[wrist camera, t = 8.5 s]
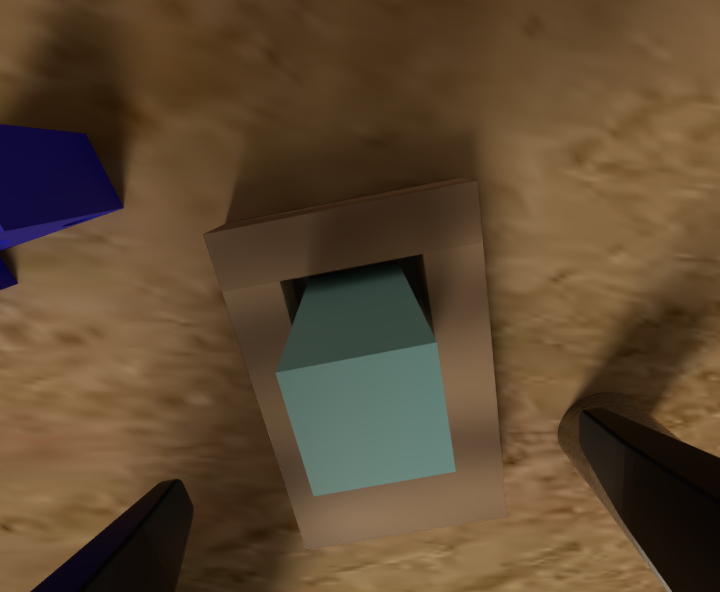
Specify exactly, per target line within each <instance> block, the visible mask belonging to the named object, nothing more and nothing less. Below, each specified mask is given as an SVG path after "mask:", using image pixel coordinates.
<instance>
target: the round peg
mask: <svg viewBox="0 0 720 592" xmlns="http://www.w3.org/2000/svg"><path fill="white" fill-rule="evenodd" d="M591 407H603V408H605V409H608V410H610V411H612V412H615V413H617V414H619V415H622V416H624V417H626V418H628V419H631V420H633V421H635V422H638V423H640V424H642V425H645V426H647V427H649V428H652V429H654V430H656V431H659V432H661V433H663V434H666V435H668V436H670V437H673V438H675V439H677V440H680V439H679V438H677V437H676V436H675V435H674V434H673V433H671V432H670V431H669V430H668V429H667V428H665V427H664V426H663V425H662V424H661V423H659V422H658V421H657V420H656V419H655V418H654V417H652V416H651V415H650V414H649V413H648V412H646V411H645V410H644V409H643V408H642V407H640V406H639V405H638V404H637V403H636V402H634V401H633V400H632V399H631V398H629V397H627V396H625V395H622V394H619V393H599V394H595V395H592V396H589V397H587V398H585V399H583V400H581V401H579V402H578V403H576V404H575V405H574V406H573V407H572V408H570V409H569V411H568V412H567V413H566V414H565V416H564V417H563V419H562V421H561V423H560V426H559V429H558V441H559V444H560V446H561V448H562V450H563V451H564V452H565V454H566V455H567V456H568V458H569V459H570V461H571V462H572V463H573V465H574V466H575V467H576V469H577V470H578V471H579V473H580V474H581V475H582V477H583V478H584V479H585V481H586V482H587V484H588V485H589V486H590V488H591V489H592V490H593V492H594V493H595V494H596V496H597V497H598V498H599V500H600V501H601V502H602V504H603V505H604V506H605V508H606V509H607V511H608V512H609V513H610V515H611V516H612V517H613V519H614V520H615V521H616V523H617V524H618V525H619V527H620V528H621V529H622V531H623V532H624V534H625V535H626V536H627V538H628V539H629V540H630V542H631V543H632V544H633V546H634V547H635V548H636V550H637V551H638V552H639V554H640V555H641V557H642V558H643V559H644V561H645V562H646V563H647V565H648V566H649V567H650V569H651V570H652V571H653V573H654V574H655V575H656V577H657V578H658V580H659V581H660V582H661V584H662V585H663V586H664V588H665V589H666V590H667V592H672V591H671V590H670V588H669V587H668V586H667V584H666V583H665V581H664V580H663V578H662V577H661V576H660V574H659V573H658V571H657V570H656V569H655V567H654V566H653V564H652V563H651V561H650V560H649V559H648V557H647V556H646V554H645V553H644V551H643V550H642V549H641V547H640V546H639V544H638V543H637V541H636V540H635V539H634V537H633V536H632V534H631V533H630V531H629V530H628V528H627V527H626V526H625V524H624V523H623V521H622V520H621V518H620V516H619V515H618V513H617V511H616V510H615V508H614V506H613V504H612V503H611V501H610V499H609V497H608V496H607V494H606V492H605V490H604V489H603V487H602V485H601V483H600V481H599V480H598V478H597V476H596V474H595V473H594V471H593V469H592V467H591V466H590V464H589V462H588V460H587V459H586V457H585V455H584V453H583V451H582V449H581V447H580V443H579V412H580V411H581V410H582V409H586V408H591ZM680 441H681V440H680Z"/></svg>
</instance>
